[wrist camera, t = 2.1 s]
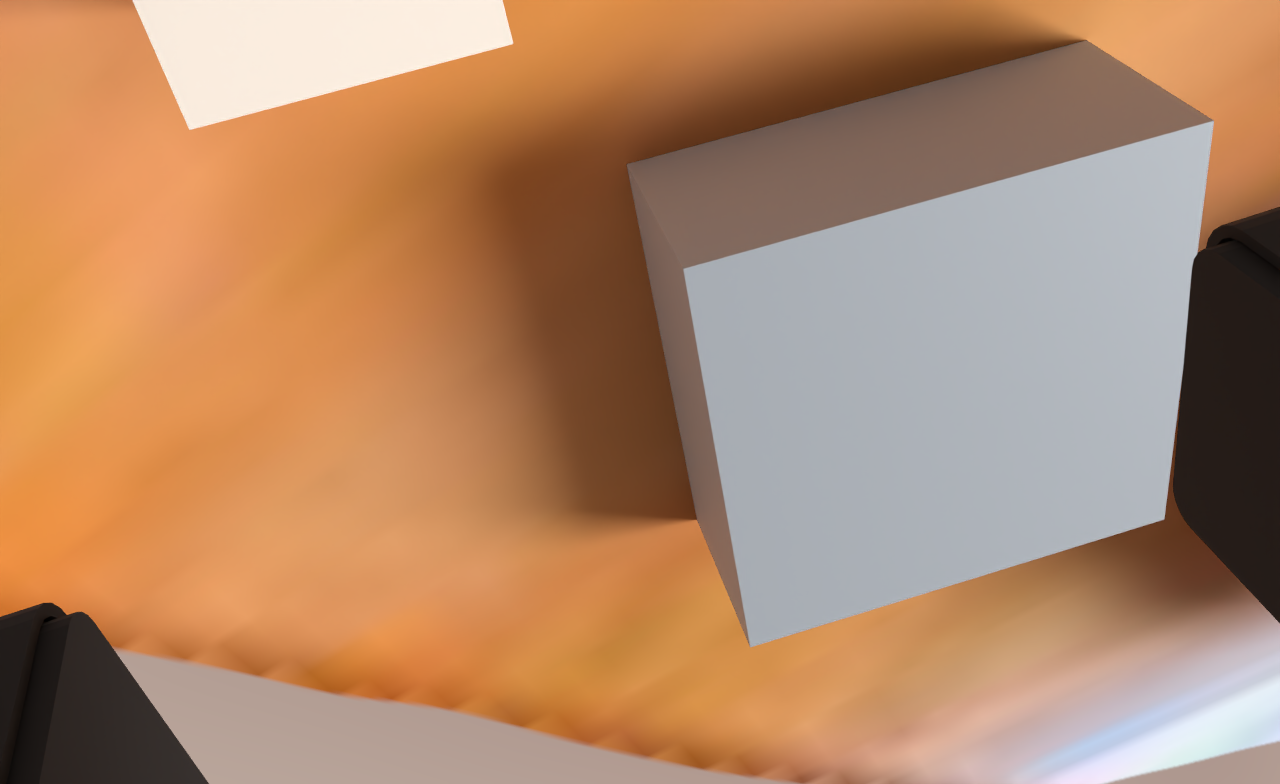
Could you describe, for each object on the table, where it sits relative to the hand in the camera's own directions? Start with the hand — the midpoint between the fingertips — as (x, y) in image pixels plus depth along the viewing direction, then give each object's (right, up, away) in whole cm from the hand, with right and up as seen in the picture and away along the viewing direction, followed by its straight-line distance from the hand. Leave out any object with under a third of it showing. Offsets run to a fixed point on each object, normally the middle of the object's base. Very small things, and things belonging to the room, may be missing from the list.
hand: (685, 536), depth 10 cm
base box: (+7, +4, +26) cm, 27 cm away
